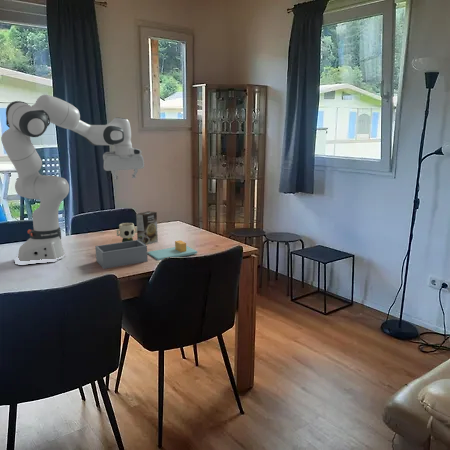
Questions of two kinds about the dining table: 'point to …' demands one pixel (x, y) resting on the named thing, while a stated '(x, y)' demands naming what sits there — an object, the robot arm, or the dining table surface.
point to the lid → (173, 251)
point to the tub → (121, 254)
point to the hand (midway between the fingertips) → (125, 178)
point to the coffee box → (147, 227)
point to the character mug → (126, 231)
